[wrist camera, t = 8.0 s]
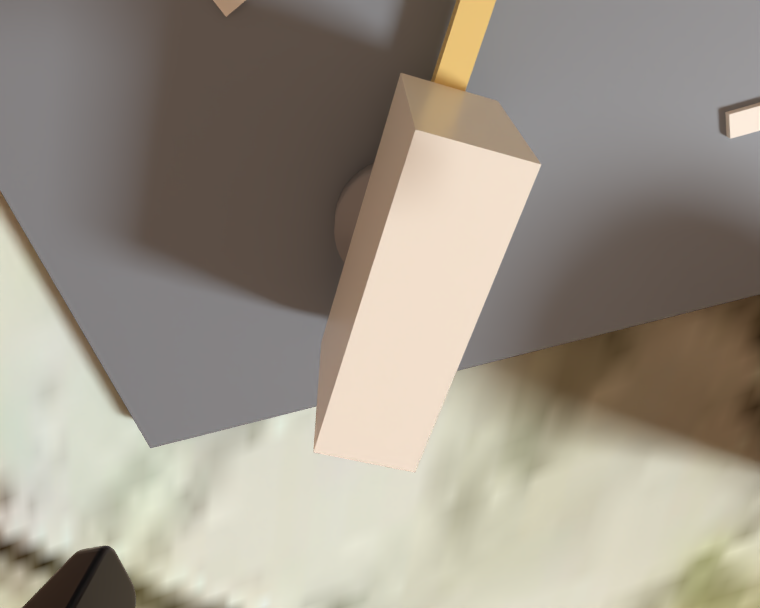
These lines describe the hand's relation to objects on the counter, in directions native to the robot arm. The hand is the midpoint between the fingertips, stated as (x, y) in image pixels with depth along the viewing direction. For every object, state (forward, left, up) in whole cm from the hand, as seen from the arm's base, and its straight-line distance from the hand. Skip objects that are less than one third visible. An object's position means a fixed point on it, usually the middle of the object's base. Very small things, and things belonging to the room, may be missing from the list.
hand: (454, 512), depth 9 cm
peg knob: (+1, +2, -10) cm, 10 cm away
